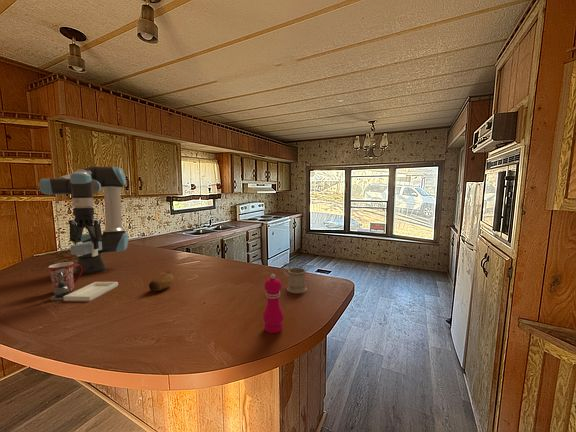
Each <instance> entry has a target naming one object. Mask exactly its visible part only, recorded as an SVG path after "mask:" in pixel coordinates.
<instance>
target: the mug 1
mask: <svg viewBox="0 0 576 432" xmlns="http://www.w3.org/2000/svg"><path fill="white" fill-rule="evenodd" d="M76 266H79V269H80V270H79V274H76V275H77V276H76V277H75V279H74V269H75V267H76ZM60 269H66V271H64V272H63V279H64V285H68V289H69V292H73V291H75V284H76V283H77V281H78V280H79V279H80V277H81V276H82V274H81V273H82V266H81V265H78V264H76V263H75V264H74V262H73V261H67V262H58V263H54V264H51V265H49V266H48V270H49V276H50V279H51V284H52V290H53V293H54V294H55V291H54V288H55V287H57V286H58V279H57V274H54V271H57V270H60Z"/></svg>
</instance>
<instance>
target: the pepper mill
mask: <svg viewBox="0 0 576 432" xmlns="http://www.w3.org/2000/svg"><path fill="white" fill-rule="evenodd" d="M263 287H264V289H265V296H266V298H267V303H266V306H265V309H264V311H263V314H262V320H263V322H264V331H265V332H267V333H269V334H277V333H280V332H281V331H282V330H283V321H284V312H283V309H282V307H281V306H280V302H279V301H280V297H281V289H282V281H281V280H280V279H279V278H277V277H276V274H274V273H272V274H270V278H267V279H266V280H265V282H264V285H263Z"/></svg>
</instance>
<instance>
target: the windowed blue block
mask: <svg viewBox="0 0 576 432" xmlns="http://www.w3.org/2000/svg"><path fill="white" fill-rule="evenodd" d="M98 244H99V248H98V251H99V250H102V242H98ZM69 248H70V256H71V255H74V256H77V255H85V254H89V253H92V250H91V242H85V243H81V244H77V245H75V244H73V245H70V247H69Z"/></svg>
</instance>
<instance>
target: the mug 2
mask: <svg viewBox="0 0 576 432" xmlns="http://www.w3.org/2000/svg"><path fill="white" fill-rule="evenodd" d="M285 266H288V271H287V272H288V274H287V272H286V271H285ZM282 271H283V273H284V275H286V277H288V287H287V288H286V290H287V292H289V293H291V294H292V293H293V294H304V293H306V292H307V290H308V288H307V286H306V269H305V268H302V267H293V268H292V267H291V266H290V262H285V263H284V264H283V265H282Z"/></svg>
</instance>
